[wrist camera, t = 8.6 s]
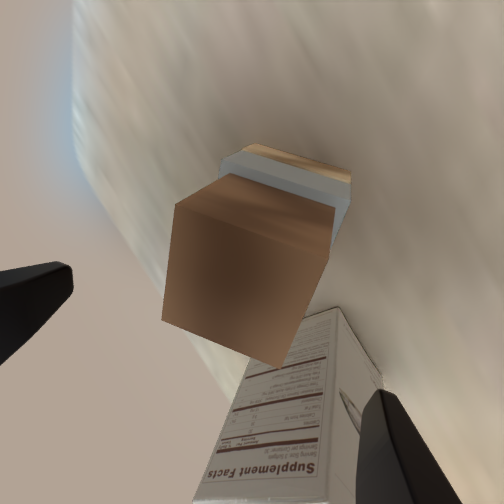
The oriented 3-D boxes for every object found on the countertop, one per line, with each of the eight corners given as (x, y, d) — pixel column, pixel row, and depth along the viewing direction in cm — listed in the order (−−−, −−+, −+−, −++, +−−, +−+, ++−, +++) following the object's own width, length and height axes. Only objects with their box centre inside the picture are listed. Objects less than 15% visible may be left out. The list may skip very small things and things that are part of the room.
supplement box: (385, 376, 23) (416, 617, 12) (301, 393, 27) (267, 594, 16) (340, 302, 22) (331, 505, 11) (257, 330, 25) (185, 507, 14)
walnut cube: (335, 207, 13) (328, 259, 9) (299, 295, 16) (280, 369, 11) (229, 172, 14) (175, 204, 9) (211, 262, 16) (161, 319, 12)
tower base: (350, 170, 18) (351, 181, 15) (317, 254, 21) (312, 276, 18) (256, 142, 19) (241, 148, 16) (237, 227, 22) (222, 244, 19)
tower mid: (351, 184, 15) (351, 200, 13) (312, 278, 18) (305, 306, 16) (242, 150, 16) (221, 158, 14) (221, 245, 19) (201, 267, 17)
